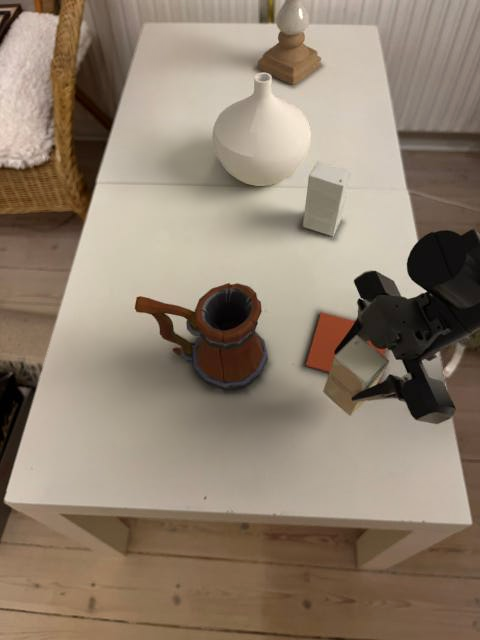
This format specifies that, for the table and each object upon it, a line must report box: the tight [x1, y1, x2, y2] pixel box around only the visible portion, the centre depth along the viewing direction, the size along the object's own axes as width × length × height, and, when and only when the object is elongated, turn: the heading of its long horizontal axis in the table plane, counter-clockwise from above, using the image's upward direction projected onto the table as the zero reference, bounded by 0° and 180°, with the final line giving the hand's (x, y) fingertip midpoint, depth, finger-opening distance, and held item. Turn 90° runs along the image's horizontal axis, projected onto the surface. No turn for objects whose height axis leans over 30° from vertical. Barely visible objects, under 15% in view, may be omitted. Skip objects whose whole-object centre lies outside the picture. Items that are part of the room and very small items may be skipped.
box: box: [322, 335, 390, 417], centre depth 62 cm, size 5×4×11 cm
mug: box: [134, 282, 268, 391], centre depth 69 cm, size 18×12×15 cm, turn 83°
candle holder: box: [257, 0, 322, 86], centre depth 106 cm, size 11×11×24 cm
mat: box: [305, 311, 387, 385], centre depth 75 cm, size 11×10×1 cm
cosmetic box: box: [302, 160, 352, 237], centre depth 84 cm, size 6×4×12 cm
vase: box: [211, 71, 312, 187], centre depth 89 cm, size 18×18×19 cm
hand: (344, 376), depth 61 cm, fingers closed on box, 6 cm apart
